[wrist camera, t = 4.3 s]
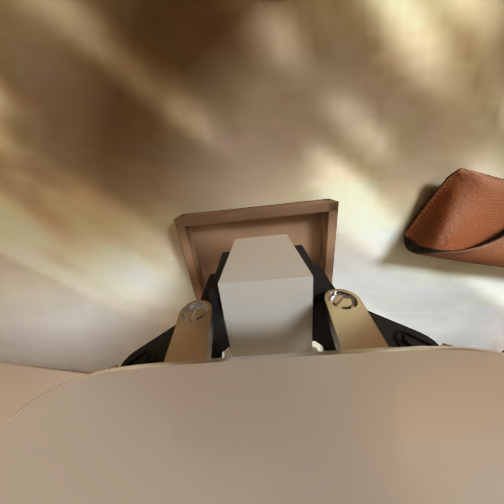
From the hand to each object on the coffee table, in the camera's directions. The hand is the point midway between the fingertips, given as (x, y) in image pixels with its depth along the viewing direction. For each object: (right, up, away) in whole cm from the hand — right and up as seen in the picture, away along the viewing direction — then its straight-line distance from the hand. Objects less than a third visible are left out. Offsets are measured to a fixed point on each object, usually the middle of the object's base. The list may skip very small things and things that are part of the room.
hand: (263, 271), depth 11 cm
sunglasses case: (+26, +6, +9) cm, 28 cm away
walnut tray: (0, 0, +11) cm, 10 cm away
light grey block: (0, 0, +2) cm, 2 cm away
